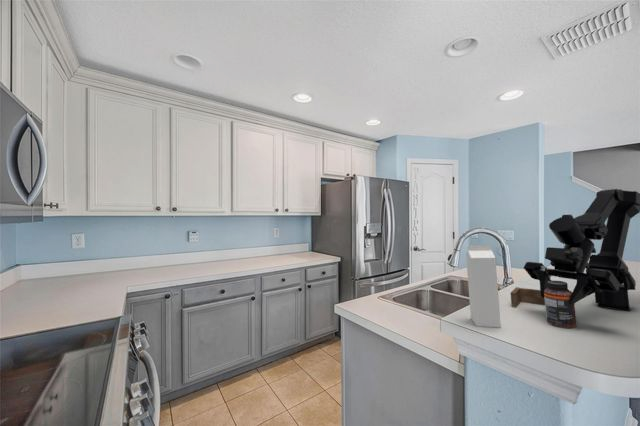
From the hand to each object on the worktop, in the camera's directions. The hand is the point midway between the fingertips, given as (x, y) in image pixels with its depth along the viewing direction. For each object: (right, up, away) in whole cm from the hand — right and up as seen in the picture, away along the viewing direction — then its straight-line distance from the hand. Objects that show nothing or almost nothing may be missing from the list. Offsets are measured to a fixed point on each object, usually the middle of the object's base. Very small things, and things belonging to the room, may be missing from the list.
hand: (555, 300), depth 69 cm
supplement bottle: (+2, -7, 0) cm, 7 cm away
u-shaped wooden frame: (+5, -7, +14) cm, 16 cm away
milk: (-17, -8, +4) cm, 19 cm away
